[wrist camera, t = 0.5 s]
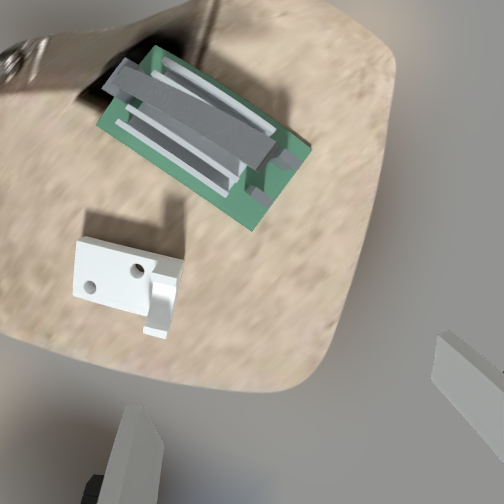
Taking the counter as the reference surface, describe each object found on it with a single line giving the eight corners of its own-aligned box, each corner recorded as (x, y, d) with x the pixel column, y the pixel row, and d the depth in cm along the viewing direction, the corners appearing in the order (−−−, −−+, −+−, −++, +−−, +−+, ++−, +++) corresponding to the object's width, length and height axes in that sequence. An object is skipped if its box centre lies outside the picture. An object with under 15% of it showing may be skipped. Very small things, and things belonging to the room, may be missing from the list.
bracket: (185, 258, 38) (176, 278, 30) (175, 310, 39) (166, 339, 32) (88, 234, 36) (61, 248, 29) (83, 285, 37) (58, 308, 30)
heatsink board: (97, 125, 32) (67, 115, 24) (156, 46, 31) (141, 18, 23) (251, 230, 37) (259, 246, 29) (311, 149, 36) (334, 144, 28)
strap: (116, 86, 26) (111, 83, 25) (129, 69, 25) (124, 65, 25) (259, 173, 20) (255, 169, 19) (280, 146, 19) (276, 141, 19)
